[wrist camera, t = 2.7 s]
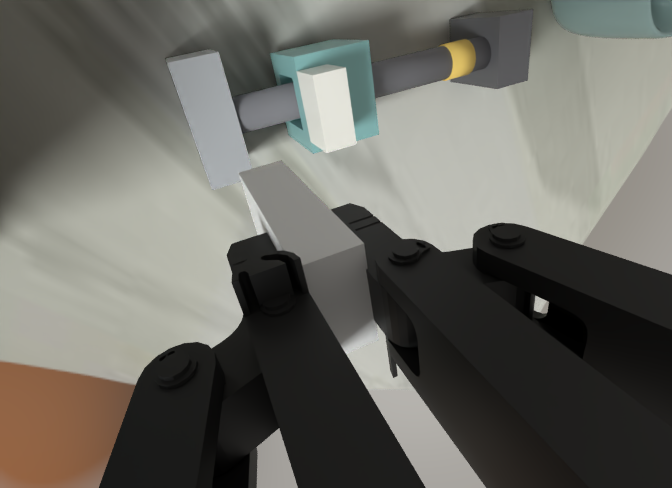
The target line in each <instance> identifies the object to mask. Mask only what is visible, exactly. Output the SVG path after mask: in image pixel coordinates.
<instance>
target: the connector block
mask: <svg viewBox="0 0 672 488" xmlns="http://www.w3.org/2000/svg"><path fill="white" fill-rule="evenodd" d="M532 19H533V9H525V10H511V11H497V12H483V13H476V14H471V15H467V16H462V17H458V18H453V19H450V42H454V41H458V40H462V39H467V40H468V39H472V38H477V37H484V38H486V39H487V40H488V42H489V44H490V47H491V59H490V62H489V64H488V66H487V67H486V68H485V69H482V70H478V71H475V72H471V73H470V74H468V75H465V76H461V77H457V78H454V79H451V82H456V83H462V84H468V85H475V86H481V87H487V88H494V89H499V88H502V87H506V86H509V85H513V84H516V83H520V82H524V81H527V80H528V69H529V57H530V44H531V31H532Z"/></svg>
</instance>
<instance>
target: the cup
mask: <svg viewBox="0 0 672 488" xmlns="http://www.w3.org/2000/svg"><path fill="white" fill-rule="evenodd" d="M551 7H552V11H553V14H554V17H555V19H556V21H557V22H558V24H559V25H560V26H561V27H562V28H564V29H565V30H567V31H568V32H571V33H574V34H578V35H582V36H587V37H595V38H611V39H657V38H667V37H671V36H672V0H551Z"/></svg>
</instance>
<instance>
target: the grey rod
mask: <svg viewBox="0 0 672 488" xmlns="http://www.w3.org/2000/svg"><path fill="white" fill-rule="evenodd" d="M490 59H491V47H490V44H489V42H488V40H487V39H486V38H484V37H477V38H472V39H468V40H467V39H462V40H458V41H454V42H450V43H446V44H442V45H439V46H438V47H435V48H431V49H427V50H423V51H419V52H415V53H411V54H406V55H402V56H398V57H394V58H390V59H386V60H382V61H378V62H373V63H371V66H372V75H373V84H374V93H375V98H377V97H381V96H385V95H388V94H392V93H396V92H400V91H403V90H407V89H411V88H415V87H418V86H422V85H426V84H430V83H433V82H437V81H441V80H443V81H446V80H450V79H454V78H457V77H461V76H465V75H468V74H470V73H471V72H475V71H478V70H482V69H485V68H486V67H487V66H488V64H489V62H490ZM232 100H233V103H234V107H235V110H236V114H237V117H238V121H239V124H240V128H241V131H242V133H246V132H250V131H254V130H257V129H261V128H265V127H269V126H272V125H276V124H280V123H284V122H287V121H291V120H295V119H299V118H300V113H299V108H298V103H297V99H296V94H295V89H294V84H293V82H291V83H287V84H283V85H279V86H275V87H270V88H266V89H262V90H258V91H254V92H250V93H246V94H242V95H237V96H233V97H232Z"/></svg>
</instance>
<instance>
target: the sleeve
mask: <svg viewBox="0 0 672 488" xmlns="http://www.w3.org/2000/svg"><path fill="white" fill-rule="evenodd" d="M270 56H271V61H272V65H273V69H274V74H275V78H276V82H277V86H279V85H283V84H287V83H291V82H293V84H294V89H295V94H296V99H297V103H298V108H299V113H300V118H299V119H295V120H291V121H287V122H286V126H287V130H288V135H289V136H290V137H292V138H293V139H294V140H296V141H297V142H298V143H300V144H301V145H302V146H304V147H305V148H306V149H308V150H309V151H310V152H312V153H313V154H314V153H317V152H320V151H324V152H326V153H329V152H332V151H335V150H339V149H342V148H346V147H349V146H352V145H356V144H357V143H356V141H358V140H361V139H365V138H368V137H372V136H375V135H379V129H378V120H377V111H376V102H375V93H374V84H373V75H372V66H371V57H370V48H369V40H344V39H332V40H328V41H323V42H319V43H314V44H310V45H305V46H301V47H296V48H292V49H287V50H283V51H278V52H274V53H270Z"/></svg>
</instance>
